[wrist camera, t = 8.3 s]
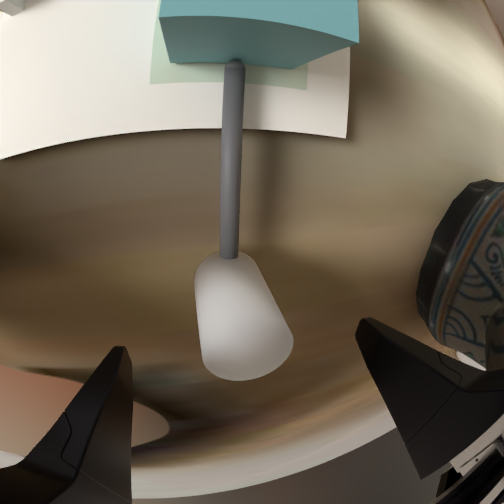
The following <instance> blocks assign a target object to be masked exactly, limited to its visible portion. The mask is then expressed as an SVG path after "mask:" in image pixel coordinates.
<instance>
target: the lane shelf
mask: <svg viewBox="0 0 504 504" xmlns="http://www.w3.org/2000/svg"><path fill="white" fill-rule="evenodd" d="M160 5H161V0H0V11H2V14H1V17H0V159H3V158H7V157H10V156H13V155H17V154H20V153H24V152H28V151H31V150H35V149H39V148H43V147H48V146H52V145H57V144H61V143H66V142H71V141H77V140H82V139H88V138H94V137H101V136H108V135H115V134H123V133H132V132H143V131H155V130H170V129H195V128H222V107H223V86H224V69H225V65H226V64H227V63H213V62H189V63H170V61H169V57H168V53H167V49H166V45H165V41H164V37H163V33H162V29H161V25H160V21H159V11H160ZM244 65H245V67H246V72H245V91H244V111H243V129H261V130H277V131H289V132H300V133H309V134H318V135H326V136H333V137H340V138H346V130H347V117H348V102H349V80H350V47H347V48H344V49H341V50H338V51H336V52H333V53H330V54H328V55H325V56H323V57H320V58H318V59H315V60H313V61H310V62H308V63H306V64H303V65H301V66H299V67H297V68H294V69H292V70H291V69H285V68H278V67H270V66H261V65H250V64H244Z"/></svg>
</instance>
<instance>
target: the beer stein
mask: <svg viewBox="0 0 504 504" xmlns="http://www.w3.org/2000/svg"><path fill="white" fill-rule="evenodd" d="M416 297H417V305H418V313H419V314H420V316H421V317H422V318H423V319H424V321H425V323H426V325H427V327H428V329H429V330H430V332H431V334H432V336H433V337H434V339H435V340H436V341H437V342H439V343H440V344H442V345H444V346H447V347H449V348H452V349H455V350H457V351H458V352H460V353H462V354H464V355H466V356H467V357H469V358H470V359H472V360H474V361H475V362H477V363H478V364H480V365H481V366H483V367H484V368H485V369H486V371H495V370H500V369H504V182H494V181H491V180H488V179H485V180H481V181H477V182H473V183H470V184H469V185H468V186H467V187H466V188H465V189H464V190H463V191H462V192H461V193H460V194H459V195H458V196H457V197H456V198H455V199H454V200H453V202H452V204H451V205H450V207H449V209H448V210H447V212H446V214H445V216H444V217H443V219H442V221H441V222H440V224H439V225H438V227H437V229H436V230H435V233H434V235H433V238H432V241H431V244H430V247H429V250H428V252H427V255H426V257H425V260H424V263H423V265H422V268H421V271H420V277H419V282H418V287H417V293H416Z"/></svg>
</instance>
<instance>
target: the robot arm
mask: <svg viewBox="0 0 504 504" xmlns="http://www.w3.org/2000/svg"><path fill="white" fill-rule="evenodd" d="M355 337H356V340H357V343H358V345H359V348H360V350H361V353H362V355H363V358H364V360H365V363H366V365H367V368H368V370H369V372H370V374H371V376H372V378H373V380H374V382H375V384H376V386H377V387H378V389H379V391H380V393H381V395H382V397H383V399H384V401H385V403H386V405H387V408H388V410H389V412H390V414H391V416H392V418H393V420H394V422H395V424H396V426H397V428H398V430H399V432H400V435H401V437H402V439H403V441H404V443H405V446H406V448H407V450H408V452H409V455H410V457H411V459H412V461H413V464H414V466H415V468H416V471H417V473H418V475H419V477H420V479H421V480H423V479H424V478H426V477H427V476H429V475H430V474H432V473H433V472H435V471H436V470H438V469H439V468H441V467H442V466H444V465H445V464H447V463H448V462H449V461H450V462H451V464H452V465H453V466H452V467H451V468H449V469H448V470H447V471H446V472H444V473H443V474H442V475H441V479H440V483H439V487H438V491H437V494H436V497H437V498H436V499H435V500H433V501H432V502H431V503H429V504H501V503H503V502H504V369H500V370H495V371H484V370H481V369H478V368H476V367H473V366H471V365H468V364H466V363H463V362H461V361H458V360H456V359H454V358H451V357H449V356H447V355H445V354H443V353H441V352H439V351H437V350H435V349H433V348H431V347H429V346H427V345H425V344H423V343H421V342H419V341H417V340H415V339H413V338H411V337H409V336H407V335H405V334H403V333H401V332H399V331H397V330H395V329H393V328H391V327H389V326H387V325H385V324H383V323H381V322H379V321H377V320H375V319H373V318H372V317H366V318H362V319H361V320H360V322H359V325H358V327H357V330H356V333H355ZM132 412H133V388H132V363H131V360H130V357H129V354H128V351H127V349H126V347H125V346H114V347H113V348H112V349H111V351H110V352H109V353H108V354H107V356H106V357H105V358H104V359H103V361H102V362H101V363H100V364H99V366H98V367H97V368H96V370H95V371H94V372H93V373H92V375H91V376H90V377H89V379H88V380H87V381H86V382H85V384H84V385H83V386H82V388H81V389H80V390H79V392H78V393H77V394H76V396H75V397H74V398H73V400H72V401H71V402H70V404H69V405H68V406H67V408H66V409H65V412H63V413H62V414H61V416H60V417H59V419H58V420H57V421H56V423H55V424H54V425H53V426H52V428H51V429H50V430H49V431H48V432H47V434H46V435H45V436H44V437H43V438H42V439H41V441H40V442H39V443H38V444H37V445H36V446H35V447H34V448H33V449H32V451H31V452H30V453H29V454H28V455H27V456H26V457H25V458H24V459H23V460H22V461H21V462H19V463H17V464H15V465H13V466H9V467H5V468H1V469H0V504H132V493H131V432H132Z"/></svg>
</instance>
